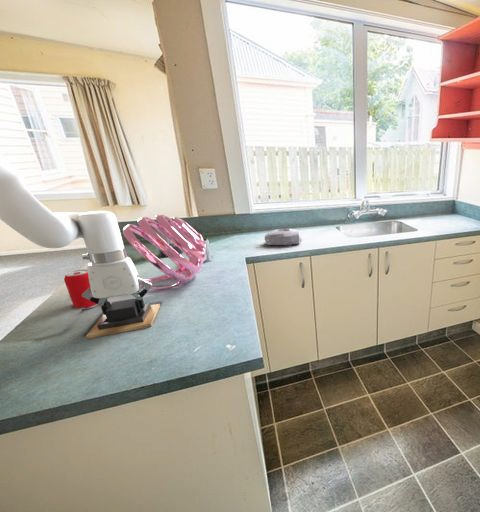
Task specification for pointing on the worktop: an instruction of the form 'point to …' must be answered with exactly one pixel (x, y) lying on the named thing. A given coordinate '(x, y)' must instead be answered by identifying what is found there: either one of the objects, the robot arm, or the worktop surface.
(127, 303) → the dark grey rectangular block
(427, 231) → the worktop surface
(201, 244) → the spiral basket
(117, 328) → the base pad
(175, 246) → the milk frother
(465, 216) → the worktop surface
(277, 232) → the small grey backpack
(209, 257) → the planter
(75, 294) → the beverage can
